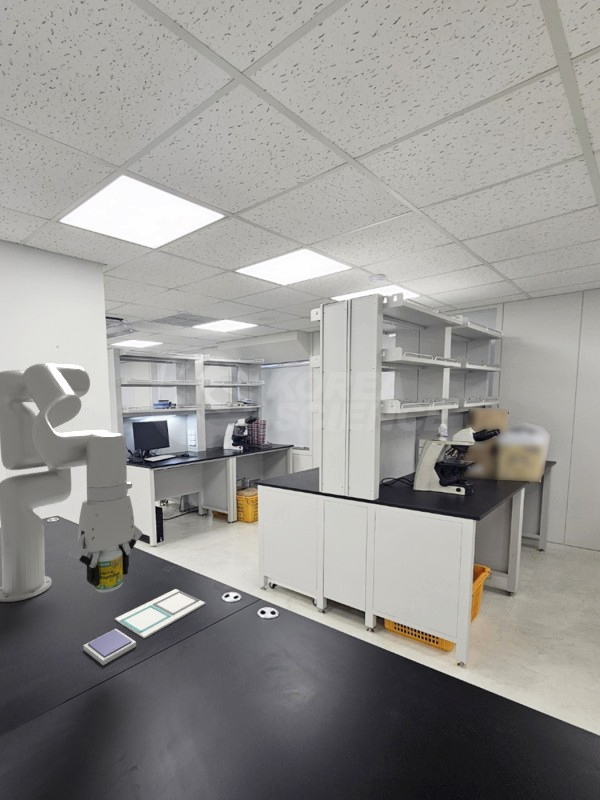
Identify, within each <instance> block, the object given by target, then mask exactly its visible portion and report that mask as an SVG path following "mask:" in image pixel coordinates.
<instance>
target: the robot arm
mask: <svg viewBox="0 0 600 800" xmlns="http://www.w3.org/2000/svg"><path fill="white" fill-rule="evenodd" d="M90 386H91V380H90V376H89V374H88V372H87V371H86V369H84V367H82V366H79V365H76V364H62V363H61V364H60V363H45V362H44V363H35V364H33V365H30V366H29V367H27V368H26V369H25V370H24V369H23V370H18V369H17V370H16V369H15V370H13V369H12V370H3V371H0V457H1V463H2V466H3V467H4V469H6V470H10V471H21V470H29V469H36V468H37V469H38V468H43V467H44V468H45V467H47V469H48V470H46V471H45V470H44V471H37V472H31V473H24V474H18V475H13V476H10V477H7V478H4V479H3V480H1V481H0V543H1V586H0V602H3V603H5V602H6V603H7V602H8V603H10V602H13V603H14V602H18V601H23V600H24V601H25V600H27V599H30V598H34V597H36V596H38V595H41V594H42V593H44V592H45V591H47V590H48V589H49V588H50V587H51V585H52V584H53V583H52V581H53V580H52V578H51V577H50V576H47V575H46V573H45V569H46V568H45V567H46V566H45V562H46V561H45V525H44V521H43V519H42V517H40V515H38V514H37V513H36V512H34V509H37V508H39V507H45V506H48V505H55V504H58V503H61V502H64V501H66V500H68V499H69V497H70V495H71V493H72V469H71V468H75V467H76V468H77V467H85V466H86V500H84V501H83V502H82V504H81V508H80V512H79V518H78V529H77V541H76V543H75V544H74V545H73V547H72V548H71V549H70V551H69V552H68V556H69V557H71V558H72V559H75V560H76V561H78V562H80V563H81V564H84V565H86V581H87V582H88V583H89V585H92V586H94V588H95V587H96V586H98V585H99V584H100V583H99V566H97V560H98V557H99V553H100V551H102V550H105V549H108V548H110V547H112V546H116V545H118V548H119V549H121V551H122V562H123V576H124V575H128V573H129V566H130V558H129V557H130V556H129V555H131V553H132V550H133V548H134V547H135V545H136V543H137V541H138V540H140V538H141V536H143V531H141V529H140V528H139V527H138V526H136V525H135V517H134V510H133V503H132V500H131V497H130V495H129V494H128V491H129V489H132V488H133V484H132V482H131V481H129V482H128V480H127V479H128V477H127V474H128V472H127V471H128V470H127V463H128V461H127V439H126V437H125V435H124V434H122V433H120V432H111V431H109V430H106V429H94V430H93V429H92V430H78V431H66V432H58V431H57V432H56V430H54V429H55V428H58V427H60V426H61V425H63V424H66V423H67V422H69V421H71V420H73V419H74V418H75V417H76V416H78V414H79V413H80V411H81V408H82V401H81V398H82V397H83V396H85V395H87V393H88V392H89V390H90ZM26 403H34V404H35V406H36V407H37V409H38V410H39V412H38V413H37V415H36V413H35V411H33V409H32V408H31V407H30V406H29V405H27V404H26ZM83 550H86V552H85V554H82V551H83Z"/></svg>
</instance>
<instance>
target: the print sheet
mask: <svg viewBox="0 0 600 800" xmlns="http://www.w3.org/2000/svg"><path fill="white" fill-rule="evenodd" d="M204 605H206V602H205V601H202V600H201V599H198V598H197V597H194V596H192V595H189V594H188V593H185V592H184V591H181V590H179V589H177V588H174V589H172V590H171V591H169V592H166V593H164V594H162V595H160V596H158V597H156V598H154V599H152V600H151V601H147V602H146V603H144V604H142V605H139V606H138V607H135V608H134V609H132V610H129V611H127V612H125V613H124V614H123V613H122V614H121V615H119V616H117V617H115V618H114V621H116V622H118V623H119V624H120V625H122V626H123V627H126V628H127V629H128V630H129V631H131V632H133V633H134V634H136V635H138V636H140V637H141V638H142V639H146V638H148V637H150V636H151V635H153V634H155V633H157V632H158V631H161V630H162V629H164V628H166V627H167V626H169V625H170V624H173V623H174V622H176V621H178V620H180V619H181V618H183V617H185V616H186V615H189V614H190V613H192V612H194V611H196V610H197V609H199V608H201V607H203V606H204Z"/></svg>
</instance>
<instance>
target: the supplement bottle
mask: <svg viewBox="0 0 600 800" xmlns="http://www.w3.org/2000/svg"><path fill="white" fill-rule="evenodd" d="M97 566H99V583H100V584H99V585H98V586H96V587H95V586H94V591H96V592H98V593H111V592H114V591H115V590H118V589H119V588H121V587H122V585H123V584H124V574H123V562H122V551H121V549H119V548H118V545H116V546H112V547H110V548H108V549H105V550H102V551H100V553H99V557H98V560H97Z"/></svg>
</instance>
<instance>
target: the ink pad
mask: <svg viewBox="0 0 600 800" xmlns="http://www.w3.org/2000/svg"><path fill="white" fill-rule="evenodd" d="M136 647H137V642H136V641H135V639H132V638H131V637H129V635H126V633H123V632H122V631H121V630H119V629H117V628H114V629H112V630H111V631H109V632H106V633H104V634H103V635H101V636H98V637H97V638H94V639H92V640H91V641H89V642H87V643H85V644H83V651H85V653H87V654H88V655H89V656H91V657H92V658H93V659H95V660H96V661H97V662H98V663H100V665H102V666H104V665H106V664H108V663H111V662H112V661H113V660H115V659H117V658H118V657H120V656H122V655H124V654H125V653H128V652H130V651H131V650H133V649H134V648H136Z"/></svg>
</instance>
